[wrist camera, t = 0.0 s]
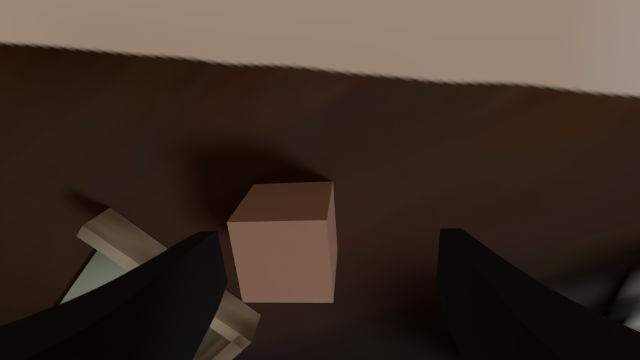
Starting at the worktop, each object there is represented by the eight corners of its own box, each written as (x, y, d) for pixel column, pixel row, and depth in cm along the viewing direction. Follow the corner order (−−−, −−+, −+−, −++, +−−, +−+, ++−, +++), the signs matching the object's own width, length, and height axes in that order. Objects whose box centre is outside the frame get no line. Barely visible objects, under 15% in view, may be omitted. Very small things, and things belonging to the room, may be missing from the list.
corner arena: (260, 315, 26) (251, 342, 23) (172, 396, 30) (157, 426, 28) (110, 207, 23) (83, 225, 21) (38, 312, 28) (9, 337, 25)
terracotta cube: (337, 250, 23) (333, 302, 18) (264, 251, 24) (242, 302, 19) (332, 181, 21) (326, 220, 17) (254, 183, 22) (227, 222, 17)
